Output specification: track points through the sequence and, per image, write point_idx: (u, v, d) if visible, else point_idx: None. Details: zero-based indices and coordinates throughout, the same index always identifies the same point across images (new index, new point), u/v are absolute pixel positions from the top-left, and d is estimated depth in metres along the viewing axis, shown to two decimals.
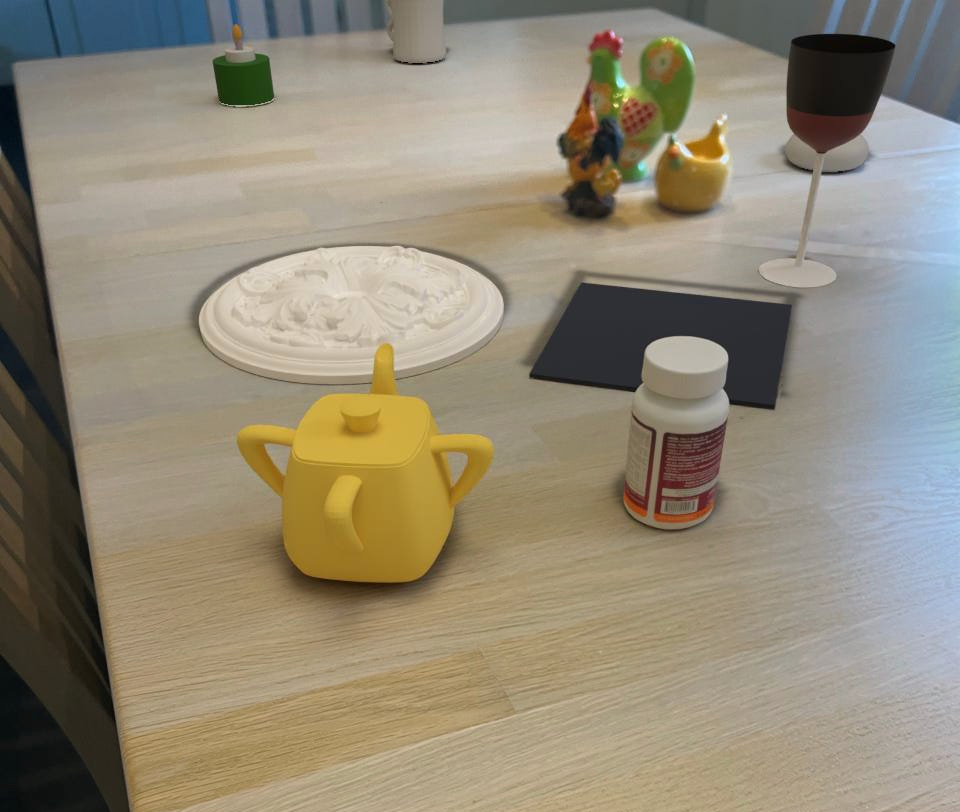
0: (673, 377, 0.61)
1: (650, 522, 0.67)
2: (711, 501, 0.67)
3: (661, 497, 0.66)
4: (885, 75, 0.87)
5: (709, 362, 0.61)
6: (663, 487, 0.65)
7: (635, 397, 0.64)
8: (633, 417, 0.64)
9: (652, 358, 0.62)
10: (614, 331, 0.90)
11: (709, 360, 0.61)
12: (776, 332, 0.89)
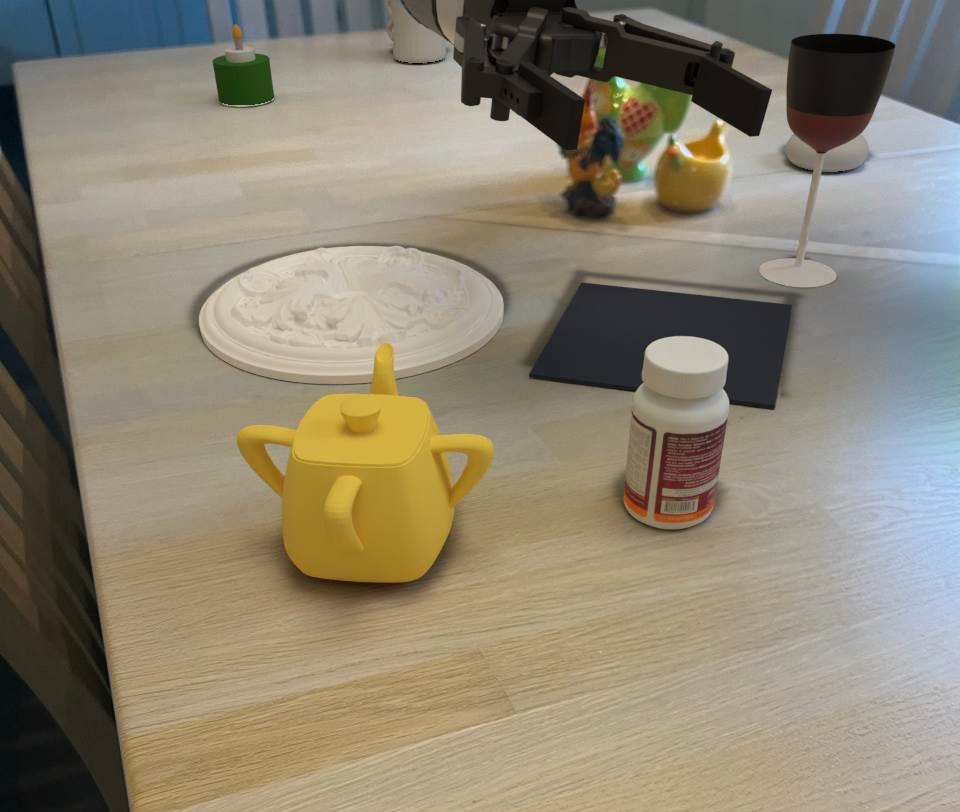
0: (673, 377, 0.61)
1: (650, 522, 0.67)
2: (711, 501, 0.67)
3: (661, 497, 0.66)
4: (885, 75, 0.87)
5: (710, 362, 0.61)
6: (663, 487, 0.65)
7: (635, 397, 0.64)
8: (633, 417, 0.64)
9: (653, 358, 0.62)
10: (614, 331, 0.90)
11: (710, 360, 0.61)
12: (776, 332, 0.89)
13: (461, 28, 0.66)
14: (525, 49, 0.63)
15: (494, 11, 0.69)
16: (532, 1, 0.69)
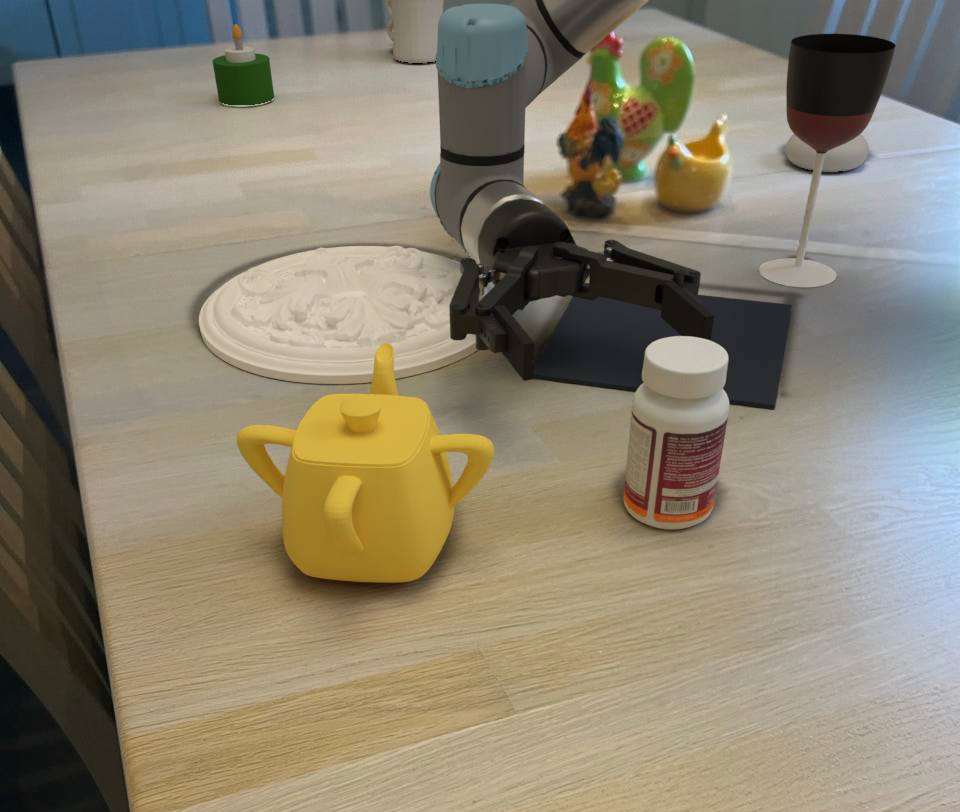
0: (673, 377, 0.61)
1: (650, 522, 0.67)
2: (711, 501, 0.67)
3: (661, 497, 0.66)
4: (885, 75, 0.87)
5: (710, 362, 0.61)
6: (663, 487, 0.65)
7: (635, 397, 0.64)
8: (633, 417, 0.64)
9: (653, 358, 0.62)
10: (614, 331, 0.90)
11: (710, 360, 0.61)
12: (776, 332, 0.89)
13: (462, 269, 0.79)
14: (506, 289, 0.76)
15: (497, 248, 0.82)
16: (530, 237, 0.82)
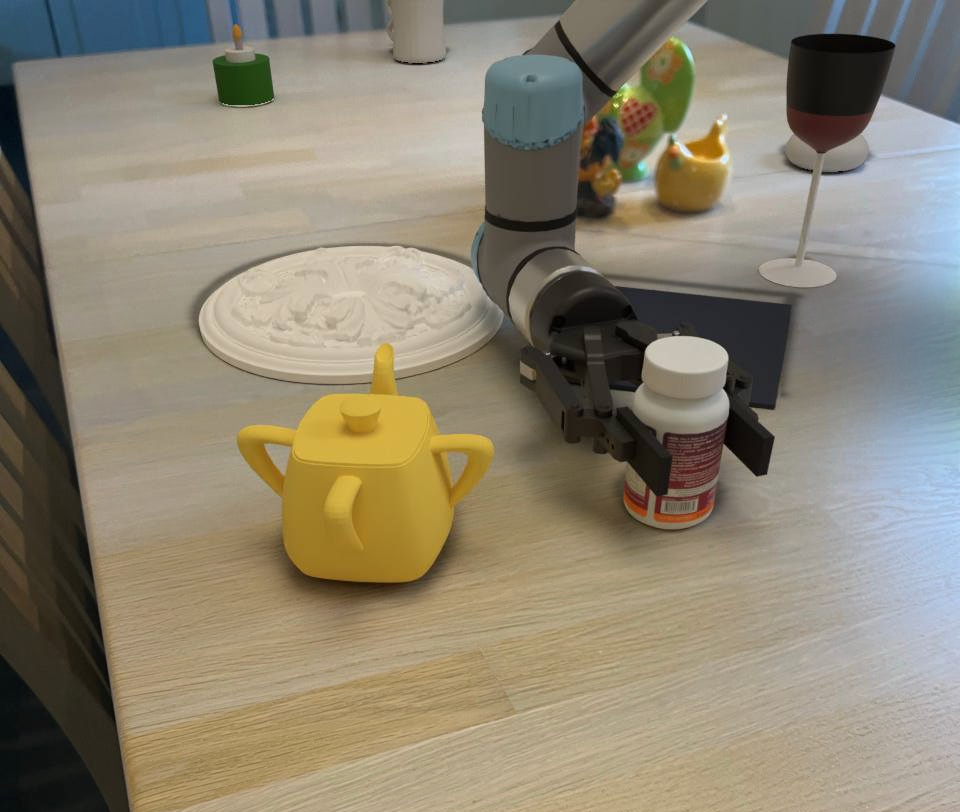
0: (673, 377, 0.61)
1: (650, 522, 0.67)
2: (711, 501, 0.67)
3: (661, 497, 0.66)
4: (885, 75, 0.87)
5: (709, 362, 0.61)
6: None
7: (635, 397, 0.64)
8: None
9: (653, 358, 0.62)
10: None
11: (709, 360, 0.61)
12: (776, 332, 0.89)
13: (530, 361, 0.71)
14: (607, 382, 0.68)
15: (552, 327, 0.74)
16: (589, 315, 0.74)
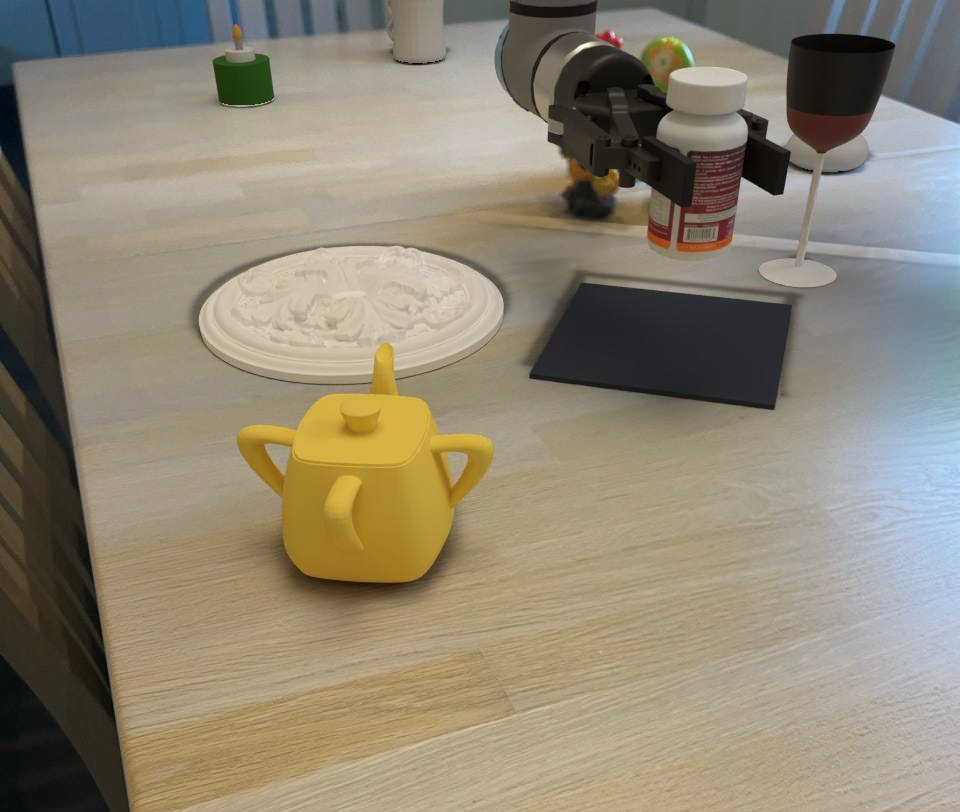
0: (696, 92, 0.65)
1: (673, 253, 0.72)
2: (730, 233, 0.72)
3: (684, 224, 0.70)
4: (885, 75, 0.87)
5: (730, 79, 0.66)
6: (686, 213, 0.70)
7: (660, 124, 0.69)
8: None
9: (677, 78, 0.66)
10: (614, 331, 0.90)
11: (730, 78, 0.66)
12: (776, 332, 0.89)
13: (558, 114, 0.75)
14: (632, 123, 0.72)
15: (577, 94, 0.79)
16: (612, 82, 0.79)
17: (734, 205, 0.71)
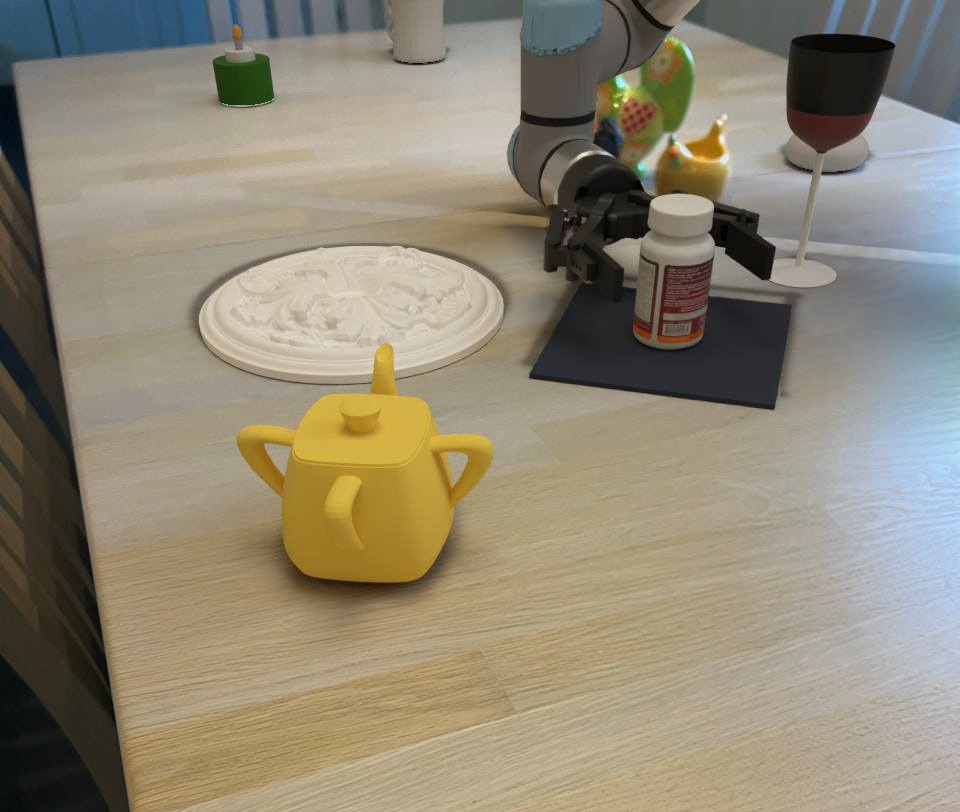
0: (671, 219, 0.80)
1: (654, 343, 0.87)
2: (701, 327, 0.87)
3: (662, 321, 0.85)
4: (885, 75, 0.87)
5: (699, 208, 0.81)
6: (664, 313, 0.85)
7: (642, 241, 0.84)
8: (641, 257, 0.84)
9: (656, 206, 0.81)
10: (614, 331, 0.90)
11: (699, 207, 0.81)
12: (776, 332, 0.89)
13: (549, 214, 0.91)
14: (592, 229, 0.87)
15: (577, 197, 0.93)
16: (606, 187, 0.93)
17: (704, 305, 0.85)
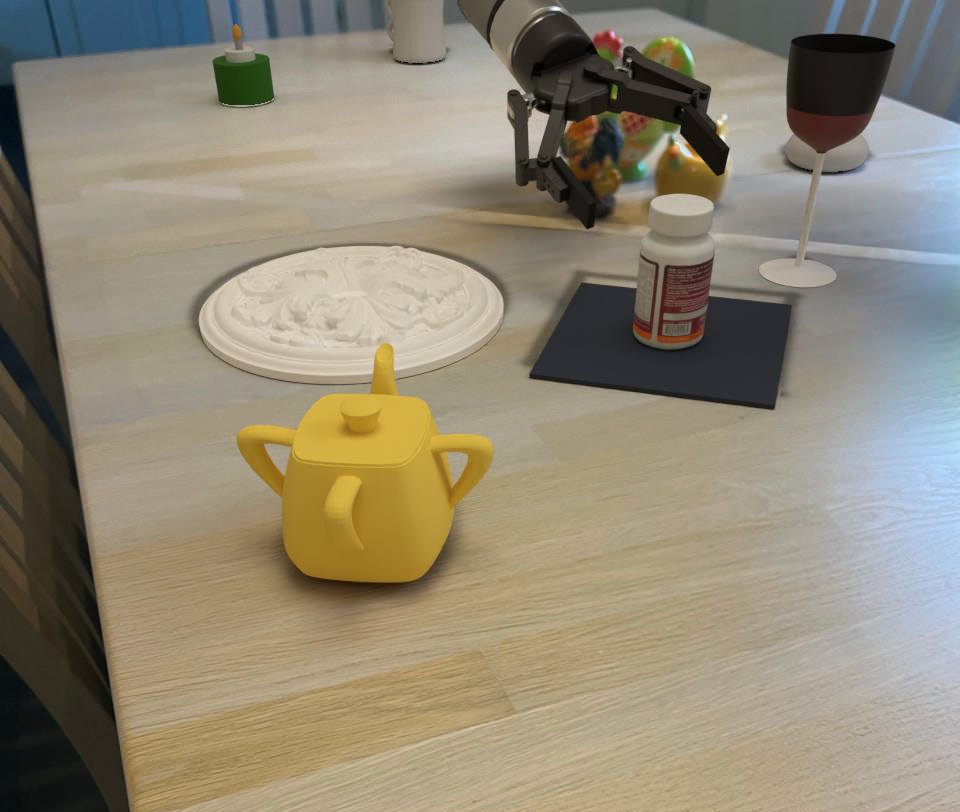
0: (672, 219, 0.80)
1: (654, 343, 0.87)
2: (701, 327, 0.87)
3: (662, 321, 0.85)
4: (885, 75, 0.87)
5: (699, 208, 0.81)
6: (664, 313, 0.85)
7: (642, 241, 0.84)
8: (641, 257, 0.84)
9: (656, 206, 0.81)
10: (614, 331, 0.90)
11: (699, 207, 0.81)
12: (776, 332, 0.89)
13: (511, 105, 0.94)
14: (557, 132, 0.92)
15: (534, 72, 0.95)
16: (561, 57, 0.95)
17: (704, 305, 0.85)
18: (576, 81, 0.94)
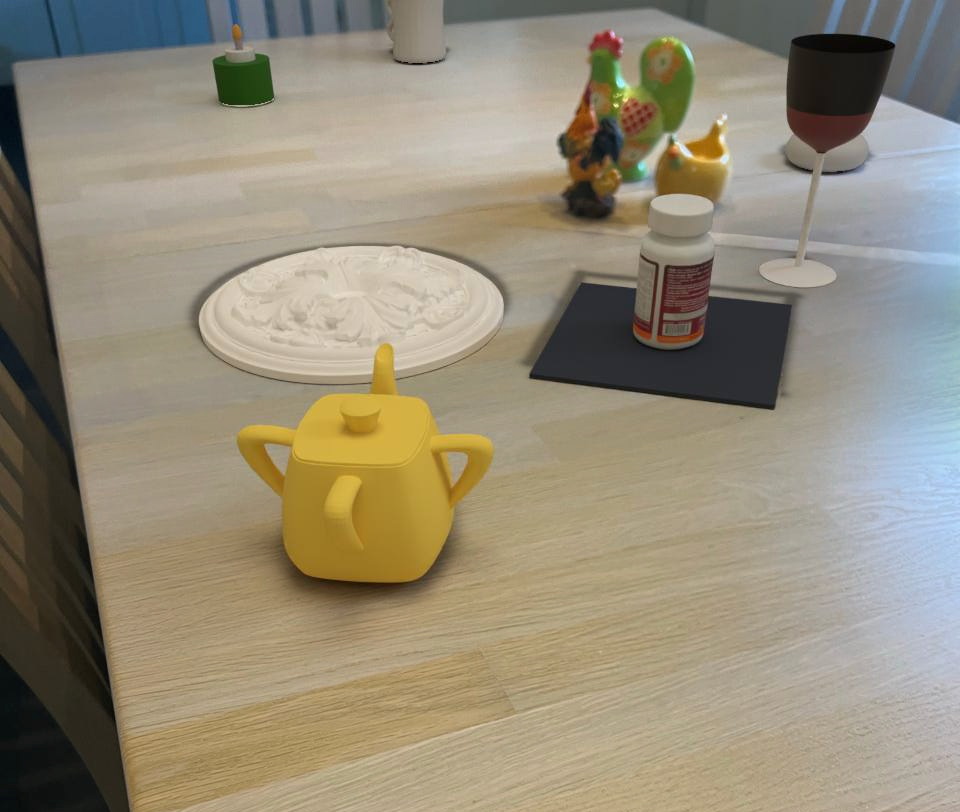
0: (672, 219, 0.80)
1: (654, 343, 0.87)
2: (701, 327, 0.87)
3: (662, 321, 0.85)
4: (885, 75, 0.87)
5: (699, 208, 0.81)
6: (664, 313, 0.85)
7: (643, 241, 0.84)
8: (641, 257, 0.84)
9: (656, 206, 0.81)
10: (614, 331, 0.90)
11: (699, 207, 0.81)
12: (776, 332, 0.89)
13: None
14: None
15: None
16: None
17: (704, 305, 0.85)
18: None
